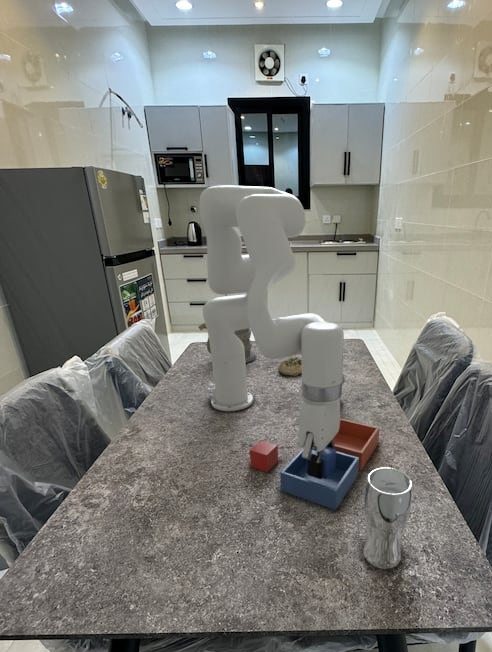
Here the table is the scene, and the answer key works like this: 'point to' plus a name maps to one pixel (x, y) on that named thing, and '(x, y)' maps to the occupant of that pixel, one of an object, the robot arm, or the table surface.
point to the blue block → (327, 460)
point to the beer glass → (386, 515)
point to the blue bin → (320, 480)
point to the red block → (264, 456)
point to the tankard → (243, 336)
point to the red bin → (356, 440)
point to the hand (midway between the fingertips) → (320, 468)
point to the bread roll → (291, 367)
